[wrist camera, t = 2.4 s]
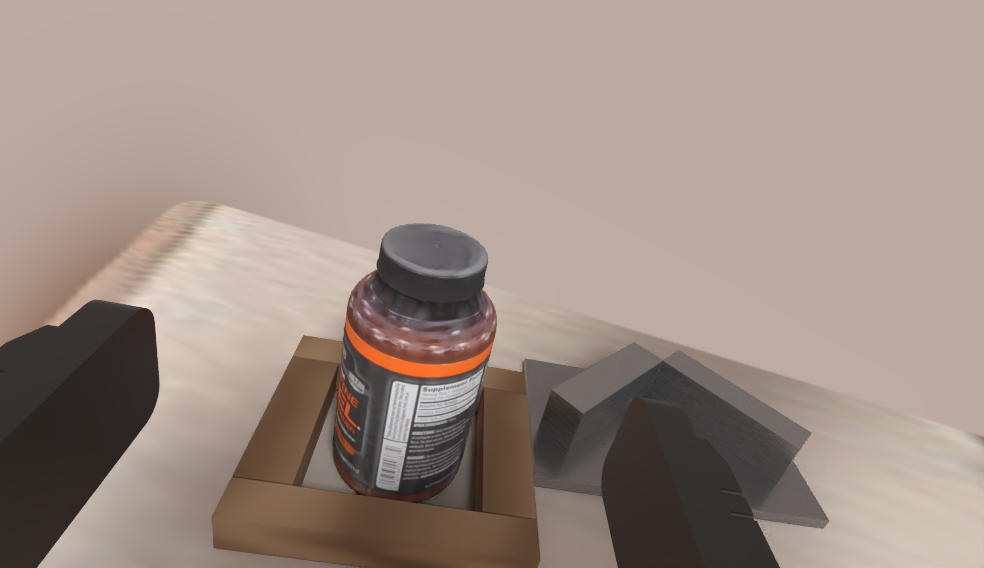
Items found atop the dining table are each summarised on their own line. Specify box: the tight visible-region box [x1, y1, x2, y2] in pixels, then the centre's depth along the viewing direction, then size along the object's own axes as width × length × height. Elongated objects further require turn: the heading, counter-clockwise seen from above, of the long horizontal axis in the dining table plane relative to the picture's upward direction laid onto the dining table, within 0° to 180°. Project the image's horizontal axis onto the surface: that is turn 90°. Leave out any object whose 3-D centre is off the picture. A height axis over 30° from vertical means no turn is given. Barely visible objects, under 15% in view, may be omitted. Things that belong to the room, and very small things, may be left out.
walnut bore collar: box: [212, 335, 540, 568], centre depth 26 cm, size 12×11×2 cm
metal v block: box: [523, 342, 829, 528], centre depth 30 cm, size 15×9×3 cm, turn 90°
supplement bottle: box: [333, 224, 497, 503], centre depth 23 cm, size 6×6×11 cm
